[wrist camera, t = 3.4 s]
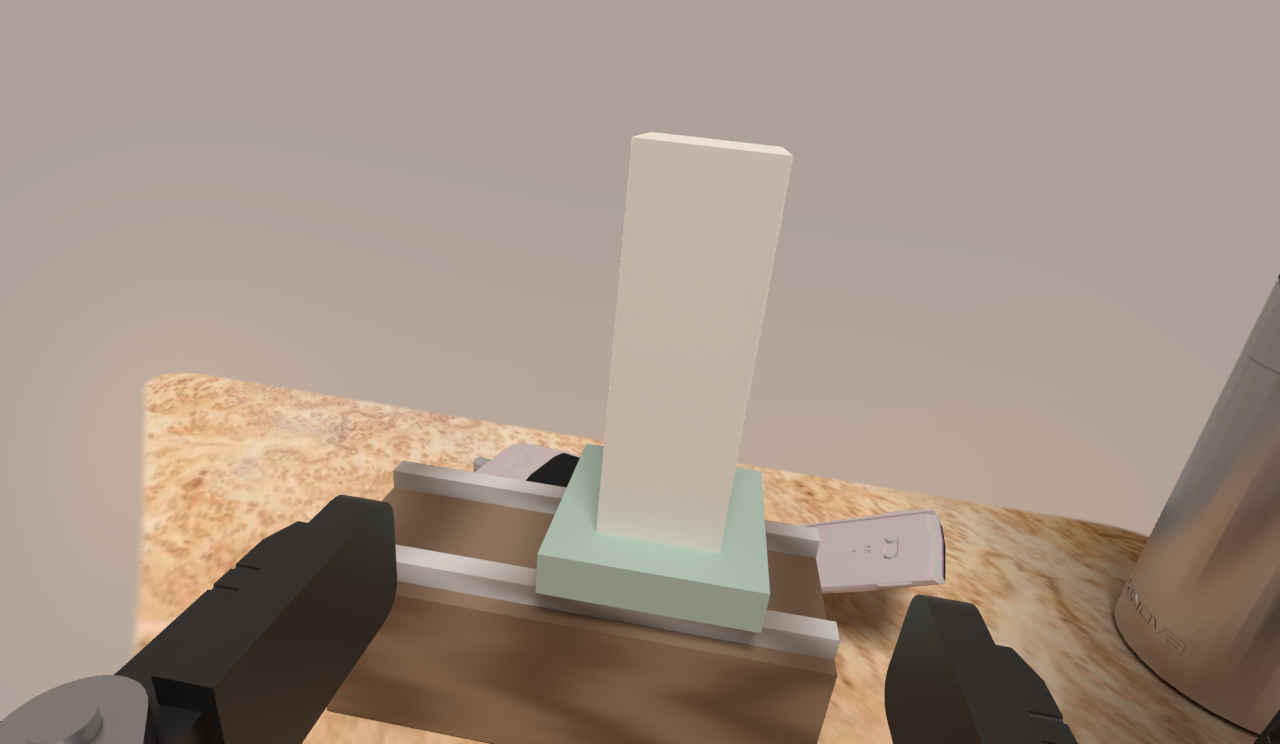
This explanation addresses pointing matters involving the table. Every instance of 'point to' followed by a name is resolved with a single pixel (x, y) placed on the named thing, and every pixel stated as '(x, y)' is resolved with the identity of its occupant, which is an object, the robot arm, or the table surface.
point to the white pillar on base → (679, 395)
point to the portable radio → (1271, 732)
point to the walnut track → (575, 637)
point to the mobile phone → (847, 550)
